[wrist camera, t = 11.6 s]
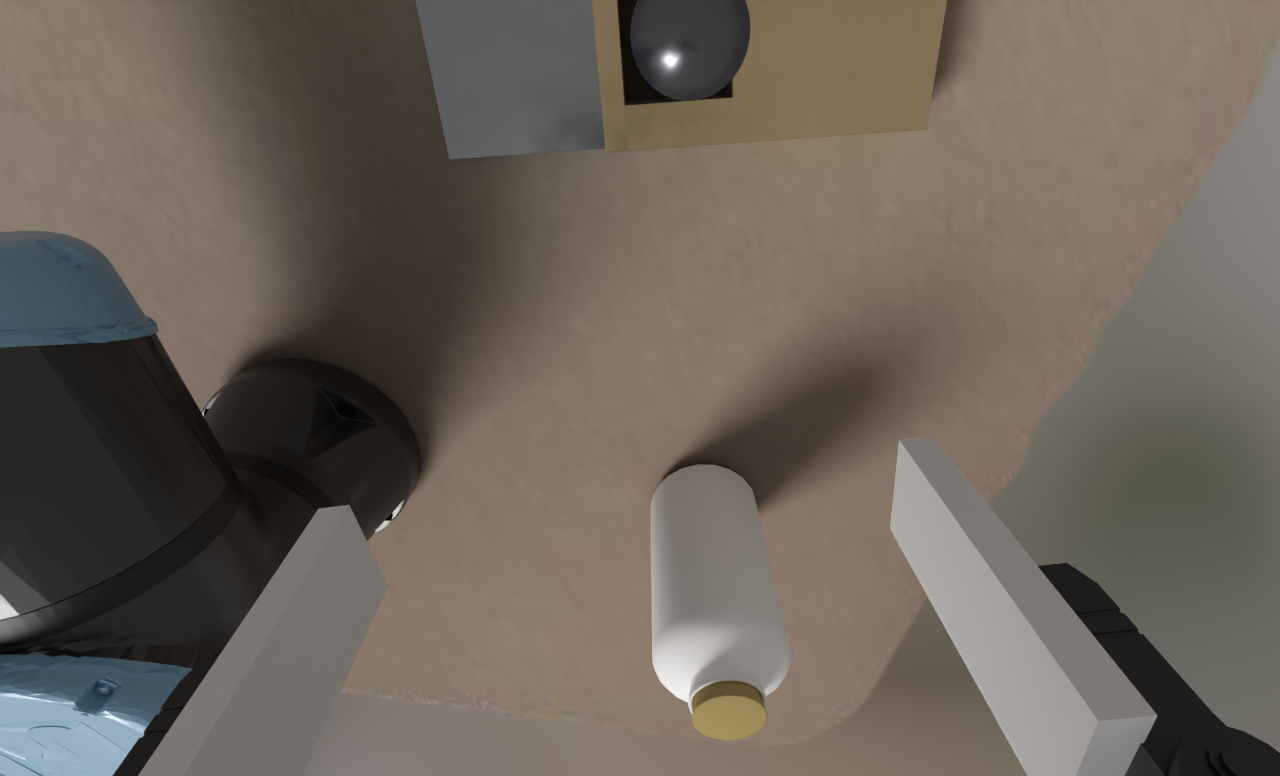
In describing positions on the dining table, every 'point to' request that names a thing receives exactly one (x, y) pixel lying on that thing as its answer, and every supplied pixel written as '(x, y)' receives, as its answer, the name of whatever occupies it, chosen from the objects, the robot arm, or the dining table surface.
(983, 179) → the dining table surface
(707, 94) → the pin
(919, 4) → the tan holed block
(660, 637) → the potion bottle
